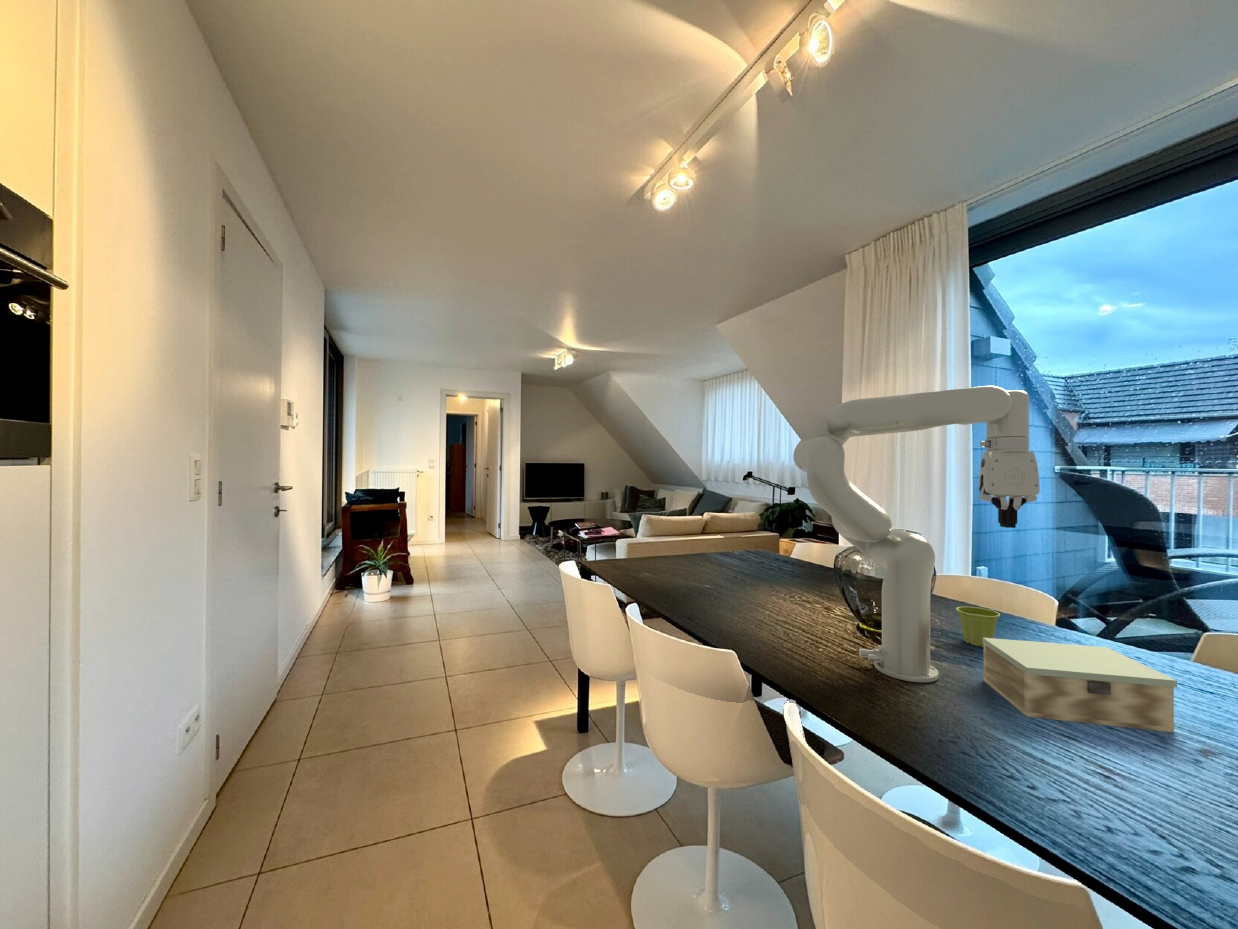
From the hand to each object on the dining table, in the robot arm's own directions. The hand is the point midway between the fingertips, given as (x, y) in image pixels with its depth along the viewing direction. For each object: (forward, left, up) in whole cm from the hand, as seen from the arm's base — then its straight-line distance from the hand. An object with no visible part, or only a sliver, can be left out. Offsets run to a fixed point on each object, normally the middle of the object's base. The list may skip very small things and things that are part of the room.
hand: (1007, 527), depth 109 cm
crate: (+4, -13, -33) cm, 36 cm away
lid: (+4, -13, -25) cm, 29 cm away
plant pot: (+3, +21, -33) cm, 39 cm away
